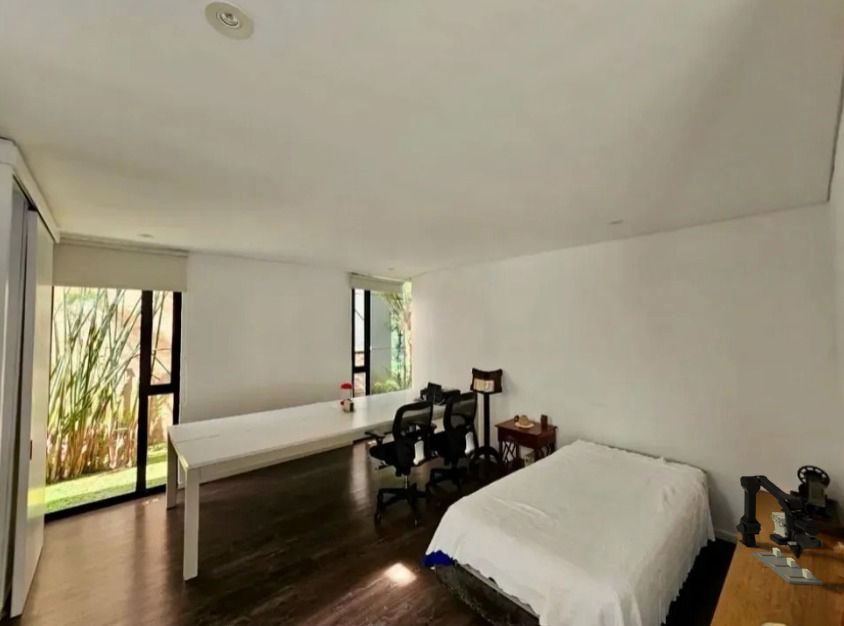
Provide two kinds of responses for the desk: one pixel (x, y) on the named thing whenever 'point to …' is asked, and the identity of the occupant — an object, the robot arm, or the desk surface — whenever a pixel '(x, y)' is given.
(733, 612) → the desk surface
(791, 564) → the handle middle
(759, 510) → the desk surface
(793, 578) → the plate
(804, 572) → the handle
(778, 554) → the handle left
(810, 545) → the robot arm
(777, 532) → the circuit breaker
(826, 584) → the desk surface
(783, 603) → the desk surface
